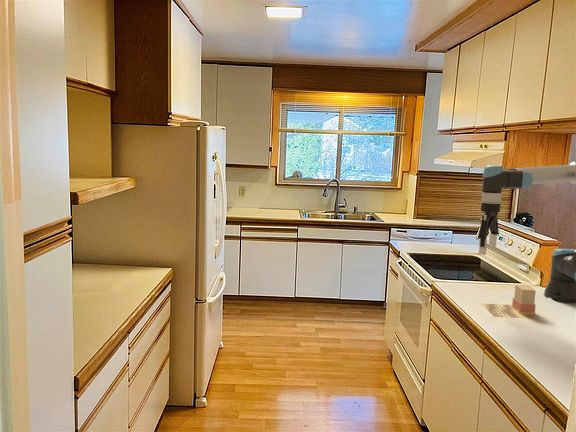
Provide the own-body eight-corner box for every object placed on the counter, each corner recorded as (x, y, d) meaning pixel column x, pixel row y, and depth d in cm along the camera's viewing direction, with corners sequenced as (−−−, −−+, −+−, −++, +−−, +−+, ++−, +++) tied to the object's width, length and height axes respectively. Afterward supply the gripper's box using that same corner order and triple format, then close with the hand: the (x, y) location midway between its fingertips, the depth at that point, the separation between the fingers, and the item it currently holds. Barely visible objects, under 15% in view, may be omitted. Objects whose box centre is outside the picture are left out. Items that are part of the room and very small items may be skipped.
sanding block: (526, 307, 205) (528, 285, 203) (535, 314, 196) (537, 290, 195) (511, 306, 205) (513, 284, 204) (519, 313, 197) (521, 290, 195)
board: (523, 306, 208) (523, 305, 207) (539, 319, 192) (540, 318, 192) (481, 304, 209) (481, 303, 209) (493, 317, 193) (494, 316, 193)
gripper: (490, 199, 213) (487, 245, 217) (472, 204, 194) (468, 255, 197) (508, 200, 209) (504, 248, 212) (491, 206, 190) (487, 258, 193)
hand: (487, 251), depth 205 cm, fingers open, 13 cm apart
